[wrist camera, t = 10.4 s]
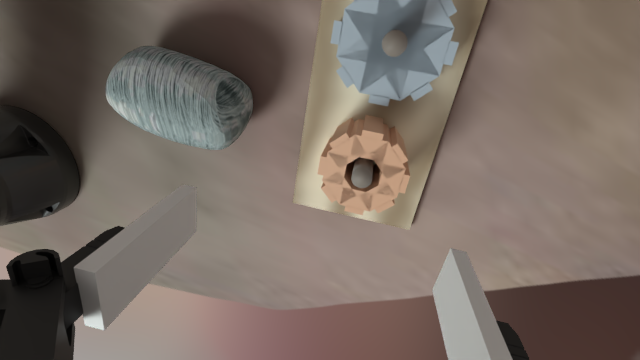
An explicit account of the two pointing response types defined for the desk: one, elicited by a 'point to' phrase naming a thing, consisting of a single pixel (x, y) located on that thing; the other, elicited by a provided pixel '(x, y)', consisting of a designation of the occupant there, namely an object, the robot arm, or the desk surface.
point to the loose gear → (371, 144)
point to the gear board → (378, 114)
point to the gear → (401, 71)
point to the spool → (179, 97)
